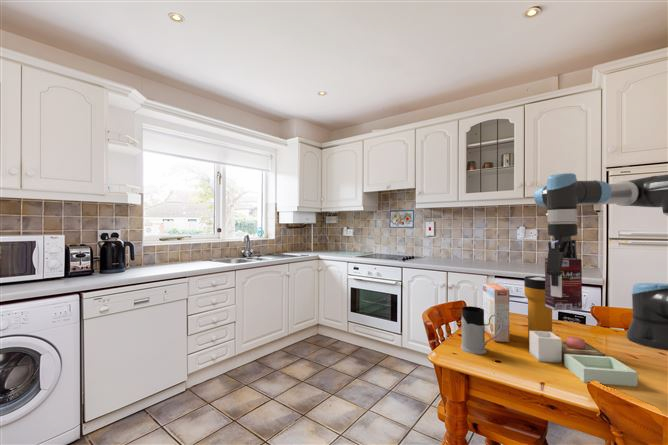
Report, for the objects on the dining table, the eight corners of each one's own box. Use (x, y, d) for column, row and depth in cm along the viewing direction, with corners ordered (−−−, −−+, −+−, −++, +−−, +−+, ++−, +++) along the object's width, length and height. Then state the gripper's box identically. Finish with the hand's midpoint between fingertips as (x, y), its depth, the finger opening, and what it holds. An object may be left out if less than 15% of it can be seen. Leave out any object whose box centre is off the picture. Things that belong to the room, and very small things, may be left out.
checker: (586, 353, 110) (586, 341, 110) (605, 366, 100) (605, 353, 100) (549, 351, 112) (548, 339, 112) (564, 363, 103) (564, 350, 103)
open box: (551, 354, 110) (550, 331, 110) (561, 362, 103) (561, 339, 103) (529, 352, 111) (529, 330, 111) (538, 361, 104) (538, 337, 104)
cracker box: (510, 343, 120) (510, 289, 120) (494, 342, 121) (493, 289, 121) (497, 330, 134) (497, 282, 134) (482, 330, 135) (482, 282, 135)
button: (579, 344, 108) (579, 337, 108) (588, 350, 103) (588, 342, 103) (563, 343, 109) (563, 336, 109) (571, 349, 104) (571, 341, 104)
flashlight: (520, 274, 125) (547, 275, 123) (520, 338, 125) (548, 340, 123) (530, 279, 115) (560, 280, 113) (531, 348, 115) (561, 350, 113)
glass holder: (460, 343, 121) (460, 305, 121) (501, 348, 115) (501, 308, 115) (460, 351, 113) (460, 310, 113) (504, 358, 107) (504, 315, 107)
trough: (611, 369, 98) (611, 356, 98) (637, 386, 88) (637, 372, 88) (564, 366, 101) (564, 353, 101) (583, 382, 91) (583, 368, 91)
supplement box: (554, 310, 95) (553, 259, 95) (544, 306, 100) (543, 257, 100) (583, 310, 94) (582, 259, 94) (572, 306, 99) (571, 257, 99)
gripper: (563, 222, 106) (564, 287, 106) (532, 224, 94) (533, 297, 94) (590, 222, 100) (591, 291, 100) (560, 223, 88) (562, 302, 88)
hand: (563, 294), depth 97 cm, fingers closed on supplement box, 9 cm apart
